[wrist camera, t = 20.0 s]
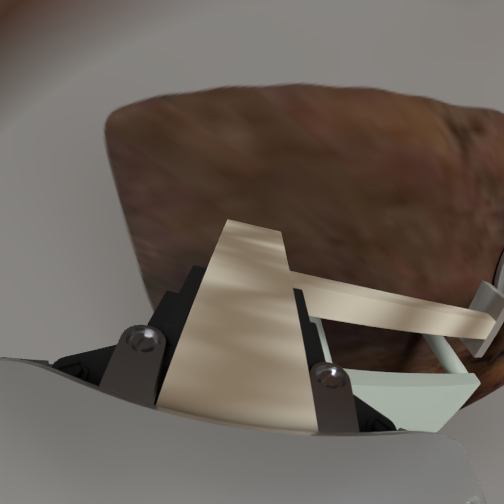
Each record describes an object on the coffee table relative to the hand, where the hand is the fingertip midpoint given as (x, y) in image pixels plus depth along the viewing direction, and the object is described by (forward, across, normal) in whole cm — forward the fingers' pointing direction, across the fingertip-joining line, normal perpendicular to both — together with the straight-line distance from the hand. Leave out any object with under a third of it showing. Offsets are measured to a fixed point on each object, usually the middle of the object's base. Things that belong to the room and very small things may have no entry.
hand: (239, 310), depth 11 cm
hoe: (+5, -9, 0) cm, 10 cm away
